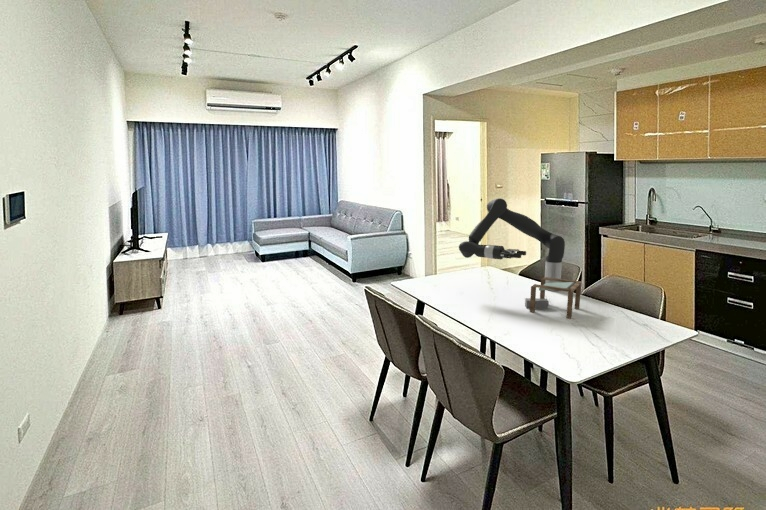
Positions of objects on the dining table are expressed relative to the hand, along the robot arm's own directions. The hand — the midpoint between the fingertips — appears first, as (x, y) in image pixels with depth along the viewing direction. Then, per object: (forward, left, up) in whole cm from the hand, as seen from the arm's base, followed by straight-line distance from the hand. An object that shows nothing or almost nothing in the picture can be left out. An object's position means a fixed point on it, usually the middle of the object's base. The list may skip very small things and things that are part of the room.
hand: (523, 254), depth 246 cm
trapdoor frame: (+2, +18, -27) cm, 33 cm away
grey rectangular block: (-1, +14, -25) cm, 29 cm away
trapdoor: (+2, +19, -15) cm, 24 cm away
